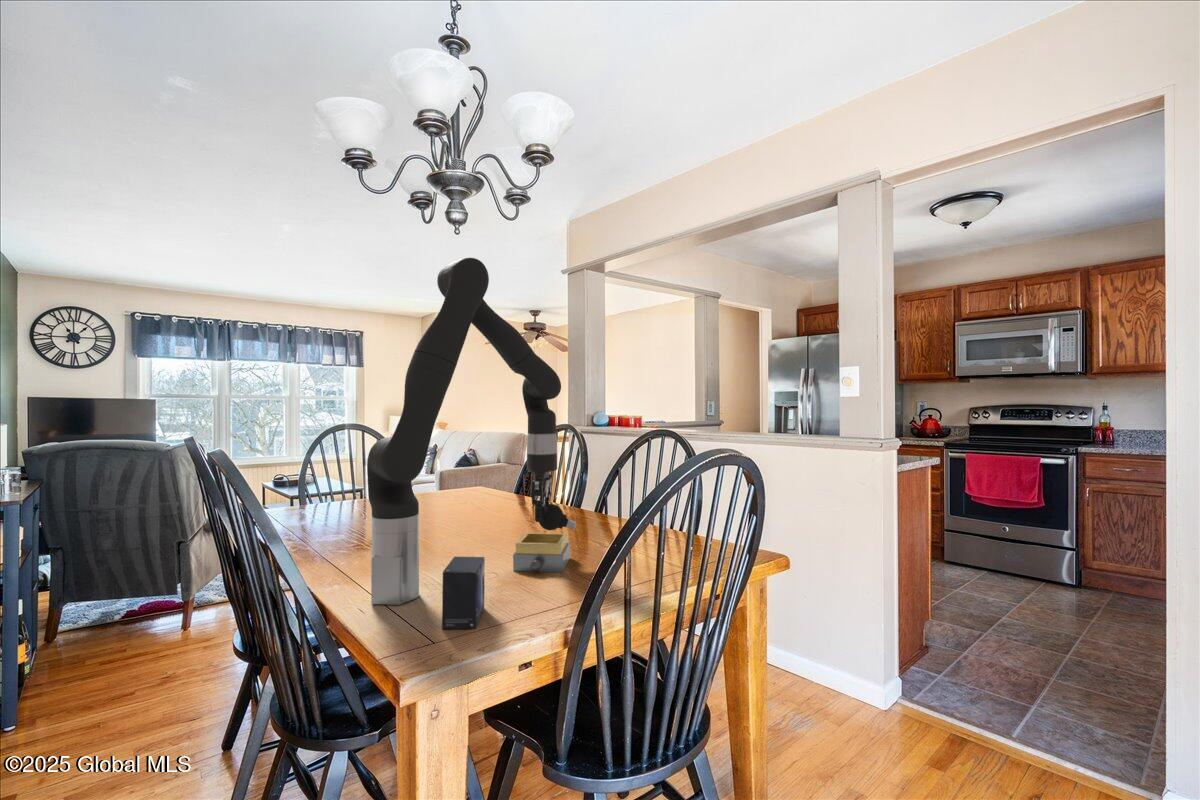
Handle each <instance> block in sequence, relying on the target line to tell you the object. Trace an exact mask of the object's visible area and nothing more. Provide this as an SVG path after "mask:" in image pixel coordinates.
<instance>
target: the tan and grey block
mask: <svg viewBox="0 0 1200 800" xmlns="http://www.w3.org/2000/svg"><path fill="white" fill-rule="evenodd" d="M568 535H569V533H561V532H559V533H558V532H555V533H553V532H552V533H550V532H525V533H524V534H523V535H522V536H521V537H520V538H519V539H518V540H517V541H516V543H515V552H514V553H513V555H512V558H513V561H512V563H513V564H512V567H513V568H512V569H513V572H534V573H541V572H542V573H543V572H544V573H564V571H565V569H566V567H567V565H568V564H569V561H570V559H571V543H570V542H569V541H568V540H569V539H568V538H569V537H568Z"/></svg>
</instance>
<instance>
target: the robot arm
mask: <svg viewBox="0 0 1200 800" xmlns="http://www.w3.org/2000/svg"><path fill="white" fill-rule="evenodd" d="M436 282H437V287H438V290H439V292H440V293H441V295H442V296H443V297H444V299H443V303H442V305H441V307H440V309H439V312H438V313H437V315H436V316H435V318H434V320H433V321H432V322H431V323H430V325H429V326H428V328H427V329H426V331H425V332H424V333H423V335H422V337H421V338H420V340H419V341H418V343H417V345H416V348H415V349H414V351H413V354H412V356H411V359H410V361H409V365H408V367H407V371H406V374H405V380H404V392H403V393H404V397H403V408H402V411H401V415H400V419H399V421H398V422H397V425H396V427H395V431H393V434H392V435H391V436H388V437H383V438H380V439H379V440H377V441H376V442H375V443H374V444H373V445H371V446H372V447H371V448H370V450H369V452H368V456H367V464H366V465H367V472H366V473H367V496H368V502H369V504H370V507H371V560H370V561H371V563H370V565H371V566H370V568H371V569H370V570H371V571H370V573H371V576H370V577H371V578H370V580H371V581H370V583H371V584H370V585H371V586H370V591H371V595H370V596H371V597H370V598H371V605H392V606H395V605H396V606H401V605H403V604H404V603H407V602H412V601H414V600H415V599H417V598H418V597H419V595H420V531H419V530H420V528H419V527H420V522H419V521H420V518H419V517H420V514H419V512H420V507H419V506H420V504H419V500H418V499H417V496H416V495H415V493H414V490H413V486H412V482H413V481H414V480H415V479H416V478H418V476H419V475H420V473H421V472H422V470H423V468H424V465H425V462H426V460H427V459H426V458H427V455H428V451H429V447H430V443H431V439H432V435H433V431H434V427H435V425H436V421H437V418H438V415H439V414H440V410H441V408H442V405H443V403H444V400H445V397H446V394H447V391H448V389H449V387H450V384H451V381H452V379H453V377H454V375H455V374H454V373H455V371H456V368H457V364H458V362H459V358H460V355H461V353H462V351H463V347H464V344H465V341H466V339H467V335H468V333H469V330H470V327H471V325H473V326H474V328H476V329H477V330H478V331H479V332H480V333H481V334H482V336H483V337H484V338H485V339H486V340H487V341H488V342H489V344H491V346H492V347H493V348H494V349H495V351H496V352H497V354H499V356H500V357H501V358H502V359H503V361H504V362H505V364H506V365H507V366H508V368H510V370H511V371H512V372H513V373H515V374H517V375H520V376H522V377H524V379H523V382H522V388H521V390H522V398H523V403H524V409H525V411H526V415H527V438H526V470H527V471H528V472H531V473H533V472H534V474H535V475H534V478H533V479H532V481H531V499H532V500H531V504H532V506H533V507H534V521H535V523H539V522H543V521H544V506H545V505H548V504H550V501H551V498H552V478H553V475H552V474H551V472H555V471H557V470H558V440H557V423H556V422H557V418H556V417H557V416H556V412H555V411H554V410H551V409H550V408H549V403H548V401H549V400H553V399H555V398H557V397H558V396H559V395H560V393H561V389H562V383H561V379H560V377H559V375H558V374H557V371H555V370H554V369H553V368H552V366H550V365H549V364H548V363H546V362H545V360H544V359H542V358H541V357H539V355H537V354H536V353H535V351H534V350H533V349H532V347H531V346H530V344H529V343H528V342H527V340H526V339H525V337H524V336H523V335H522V334H521V333H520V332H519V331H518V329H516V327H514V326H513V325H511V323H509V322H508V321H506V320H505V319H504V318H502V317H501V316H500V315H499V314H498V313H496V312H495V310H493V309H492V307H490V305H489V304H488V303H487V302H486V301H485V299H484V297H485V295H486V293H487V291H488V287H489V284H490V283H489V282H490V277H489V271H488V269H487V267H486V265H485V264H484V263H483V262H482V261H480V260H479V259H478V258H475V257H463V258H460V259H457V260H455V261H453V262H451V263H449V264H447V265H445V266H443V267H442V268H441V269H440V271H439V272H438V274H437V281H436Z"/></svg>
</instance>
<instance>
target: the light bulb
mask: <svg viewBox="0 0 1200 800" xmlns="http://www.w3.org/2000/svg"><path fill="white" fill-rule="evenodd" d="M538 524H539V526H541V527H542V529H544V530H546V531H554V530H557V529H563V528H567V529H569V530H572V531H573V530H574V529H575V528H576V527H577V522H576V521H575V520H574V521H573V520H571V519H569V518H567V514H564V511H563V510H562V508H561V507H559V506H558V505H556V504H553V503H549V504H548V505H545V506H544V521H543V522H538Z"/></svg>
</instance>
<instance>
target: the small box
mask: <svg viewBox="0 0 1200 800" xmlns="http://www.w3.org/2000/svg"><path fill="white" fill-rule="evenodd" d="M485 569H486V568H485V556H453V558H452V559H451V560H450V562H449V563H448V564H447V566H446V567H445V569H443V571H442V592H441V593H442V596H441V597H442V602H441V604H442V610H441V611H442V612H441V630H462V629H463V630H473V629H474V630H475V629H476V628H477V625H479V621H480V619H481V617H482V614H483V612H484V610H485V578H486V577H485V576H486V575H485Z"/></svg>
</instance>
